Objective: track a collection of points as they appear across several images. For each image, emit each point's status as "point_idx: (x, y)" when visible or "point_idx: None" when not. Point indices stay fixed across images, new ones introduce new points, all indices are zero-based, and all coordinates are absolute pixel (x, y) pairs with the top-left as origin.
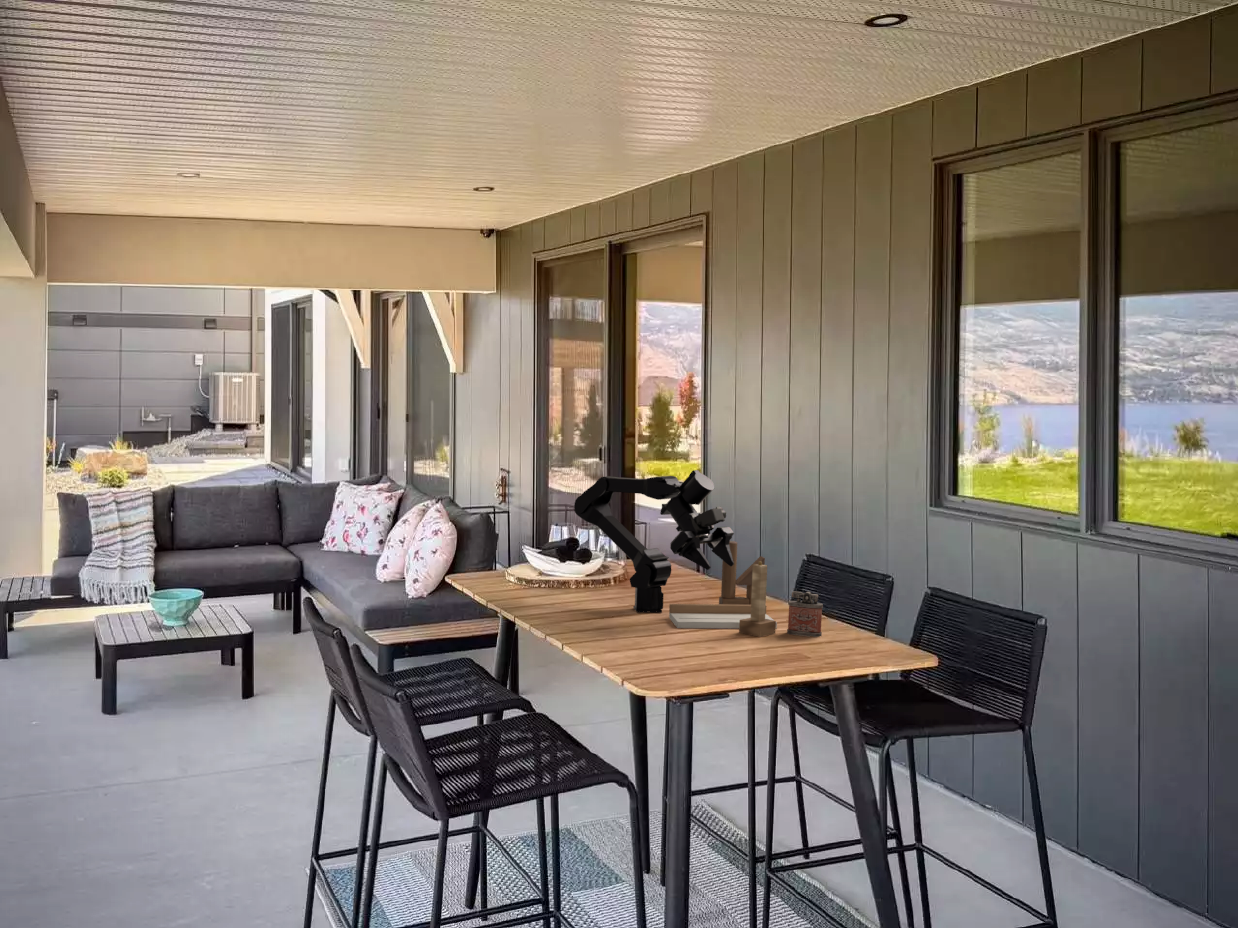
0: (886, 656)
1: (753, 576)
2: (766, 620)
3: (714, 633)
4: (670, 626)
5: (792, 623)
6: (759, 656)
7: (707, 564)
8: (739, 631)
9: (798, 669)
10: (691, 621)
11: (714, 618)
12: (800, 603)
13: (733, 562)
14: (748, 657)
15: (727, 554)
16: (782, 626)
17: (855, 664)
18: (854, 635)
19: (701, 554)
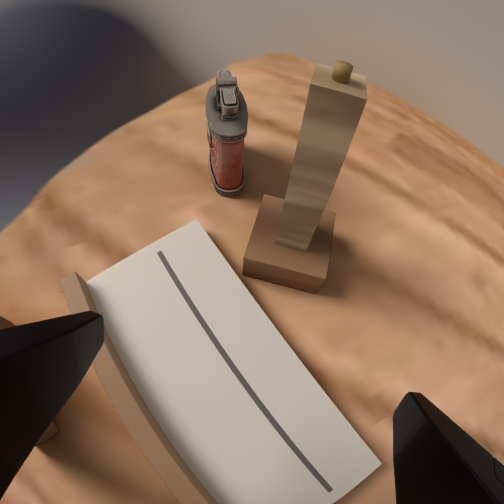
0: (307, 72)
1: (349, 141)
2: (276, 214)
3: (371, 344)
4: (363, 486)
5: (242, 166)
6: (455, 192)
7: (434, 409)
8: (316, 291)
9: (456, 142)
10: (352, 437)
11: (254, 403)
12: (244, 111)
13: (88, 313)
14: (471, 204)
15: (34, 363)
16: (157, 227)
17: (380, 94)
18: (181, 109)
19: (495, 463)
